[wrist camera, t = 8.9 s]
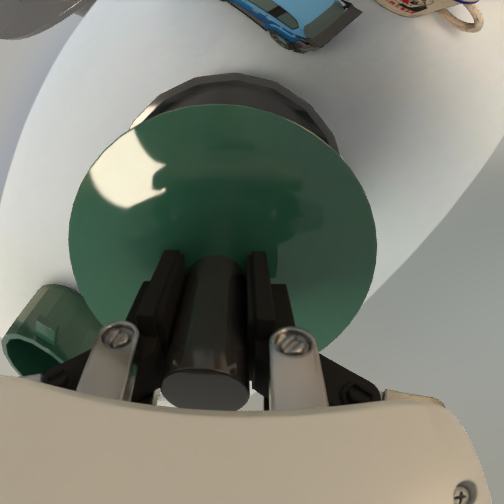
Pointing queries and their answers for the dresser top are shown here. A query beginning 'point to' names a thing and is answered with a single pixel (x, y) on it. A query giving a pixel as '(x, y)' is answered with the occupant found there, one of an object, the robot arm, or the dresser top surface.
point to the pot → (50, 331)
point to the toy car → (299, 20)
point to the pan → (240, 100)
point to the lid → (222, 236)
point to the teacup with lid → (419, 3)
